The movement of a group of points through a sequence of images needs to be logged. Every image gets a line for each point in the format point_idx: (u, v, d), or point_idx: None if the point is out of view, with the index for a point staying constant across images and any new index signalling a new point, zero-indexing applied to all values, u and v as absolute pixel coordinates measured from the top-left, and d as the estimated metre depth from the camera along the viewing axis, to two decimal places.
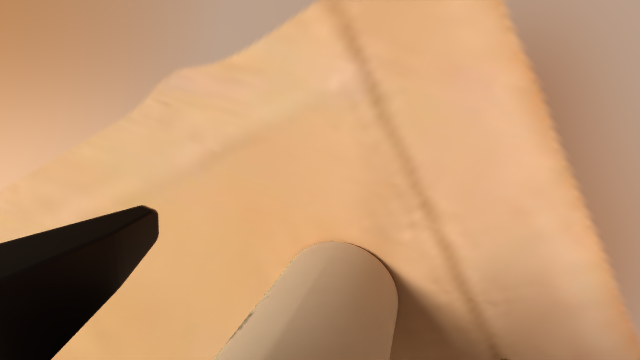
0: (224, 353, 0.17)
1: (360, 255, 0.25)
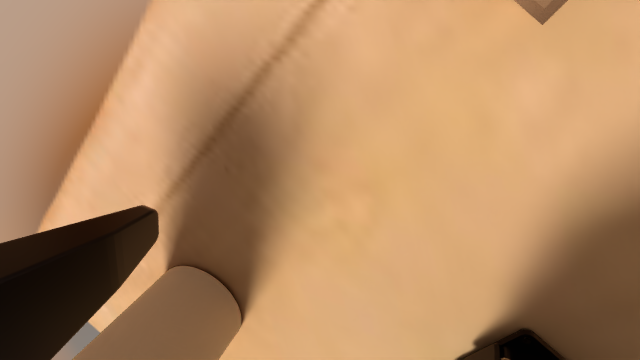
0: None
1: None
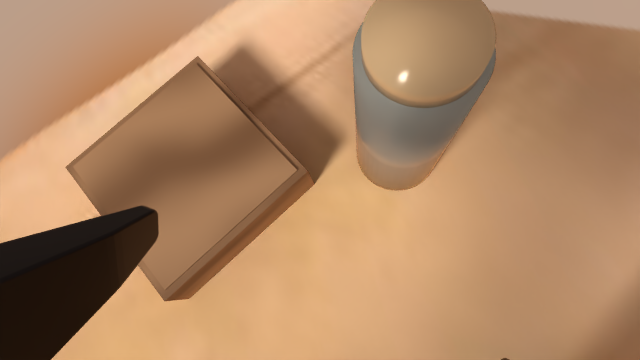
0: None
1: None
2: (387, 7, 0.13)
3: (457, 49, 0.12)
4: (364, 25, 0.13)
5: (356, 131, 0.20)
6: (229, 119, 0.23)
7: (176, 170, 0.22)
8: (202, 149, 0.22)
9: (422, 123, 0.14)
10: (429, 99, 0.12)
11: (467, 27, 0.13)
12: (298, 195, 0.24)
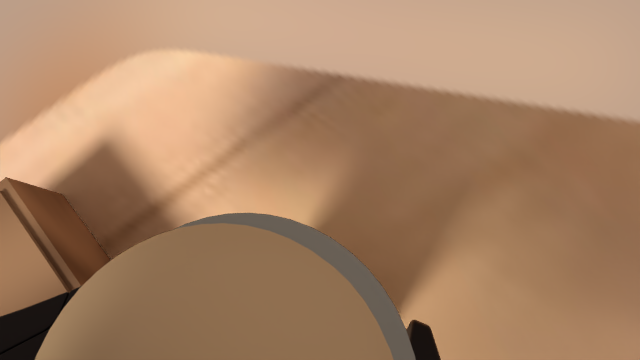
0: None
1: None
2: (107, 313, 0.05)
3: None
4: None
5: None
6: (41, 288, 0.14)
7: None
8: None
9: None
10: None
11: None
12: None
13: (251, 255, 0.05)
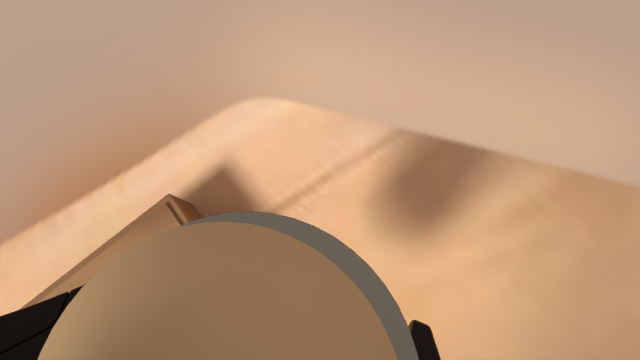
0: None
1: None
2: (111, 311, 0.05)
3: None
4: None
5: None
6: None
7: None
8: None
9: None
10: None
11: None
12: None
13: (254, 253, 0.05)
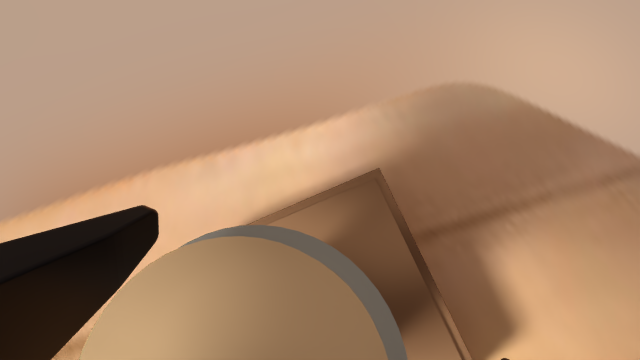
0: None
1: None
2: (142, 313, 0.05)
3: None
4: None
5: None
6: (399, 273, 0.17)
7: None
8: None
9: None
10: None
11: None
12: None
13: (265, 263, 0.05)
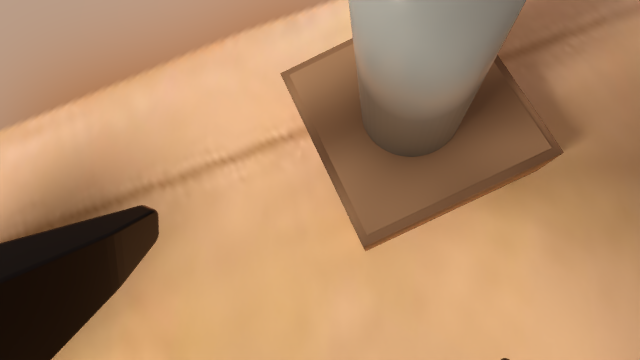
0: None
1: None
2: None
3: None
4: None
5: (357, 73, 0.15)
6: None
7: None
8: None
9: (452, 17, 0.09)
10: None
11: None
12: (520, 177, 0.20)
13: None
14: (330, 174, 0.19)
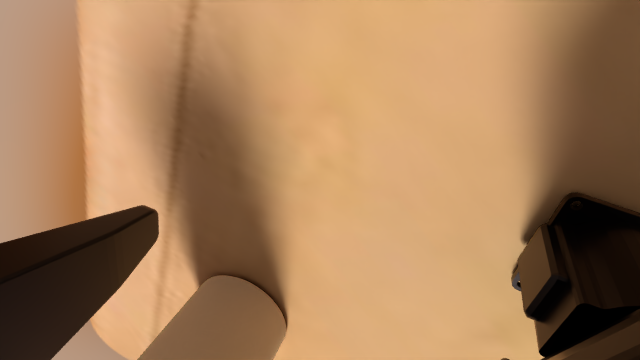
0: None
1: None
2: None
3: None
4: None
5: None
6: None
7: None
8: None
9: None
10: None
11: None
12: None
13: None
14: None
